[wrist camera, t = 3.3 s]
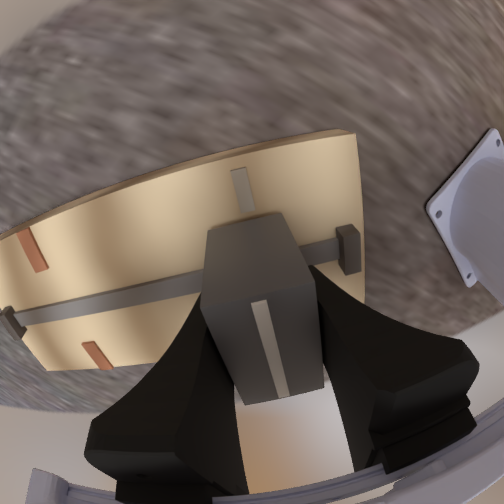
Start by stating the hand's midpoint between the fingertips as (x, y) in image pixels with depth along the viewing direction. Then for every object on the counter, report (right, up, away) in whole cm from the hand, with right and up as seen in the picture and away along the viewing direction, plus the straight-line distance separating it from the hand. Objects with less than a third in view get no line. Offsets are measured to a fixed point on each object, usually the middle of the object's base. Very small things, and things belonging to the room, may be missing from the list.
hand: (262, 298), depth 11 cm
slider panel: (-6, +1, +4) cm, 7 cm away
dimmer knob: (0, +1, +2) cm, 2 cm away
